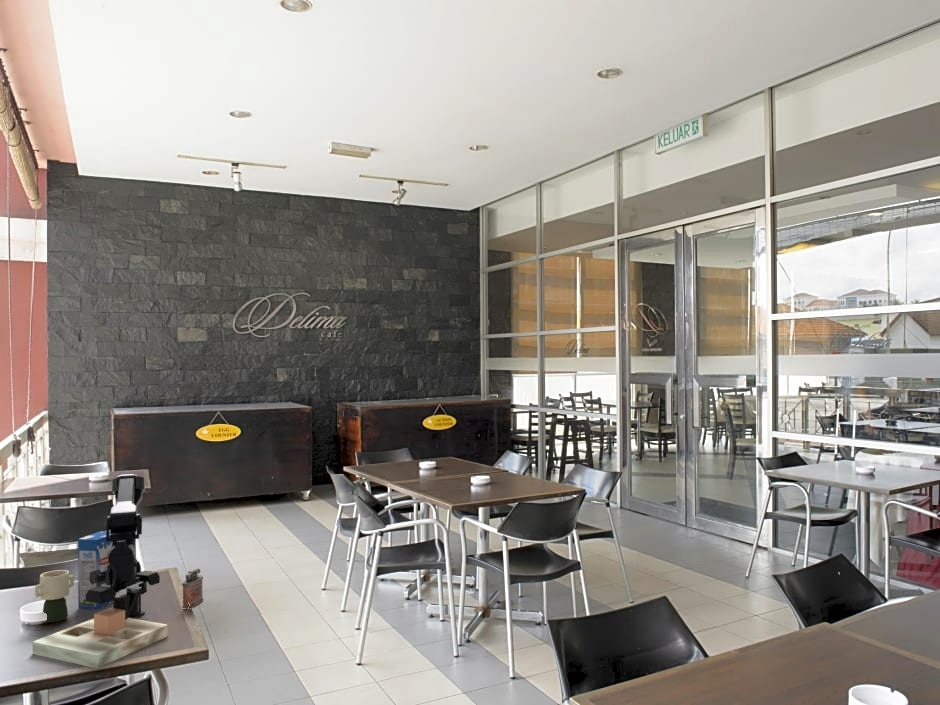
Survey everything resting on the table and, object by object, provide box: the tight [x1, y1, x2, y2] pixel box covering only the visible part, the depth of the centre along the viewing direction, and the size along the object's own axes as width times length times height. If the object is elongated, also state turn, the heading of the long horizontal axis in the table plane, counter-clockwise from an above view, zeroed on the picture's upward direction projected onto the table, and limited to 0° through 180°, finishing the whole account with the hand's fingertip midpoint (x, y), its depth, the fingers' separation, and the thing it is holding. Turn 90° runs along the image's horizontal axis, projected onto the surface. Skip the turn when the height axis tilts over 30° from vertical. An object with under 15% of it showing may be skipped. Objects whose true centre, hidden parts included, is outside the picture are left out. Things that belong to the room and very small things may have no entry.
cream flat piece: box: [32, 618, 169, 669], centre depth 183 cm, size 21×22×3 cm
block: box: [93, 607, 125, 635], centre depth 185 cm, size 5×5×4 cm
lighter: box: [181, 568, 204, 610], centre depth 212 cm, size 8×3×10 cm, turn 168°
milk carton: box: [77, 530, 114, 611], centre depth 215 cm, size 10×6×20 cm, turn 170°
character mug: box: [34, 569, 75, 623], centre depth 200 cm, size 11×7×13 cm, turn 153°
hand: (124, 619), depth 189 cm, fingers closed
